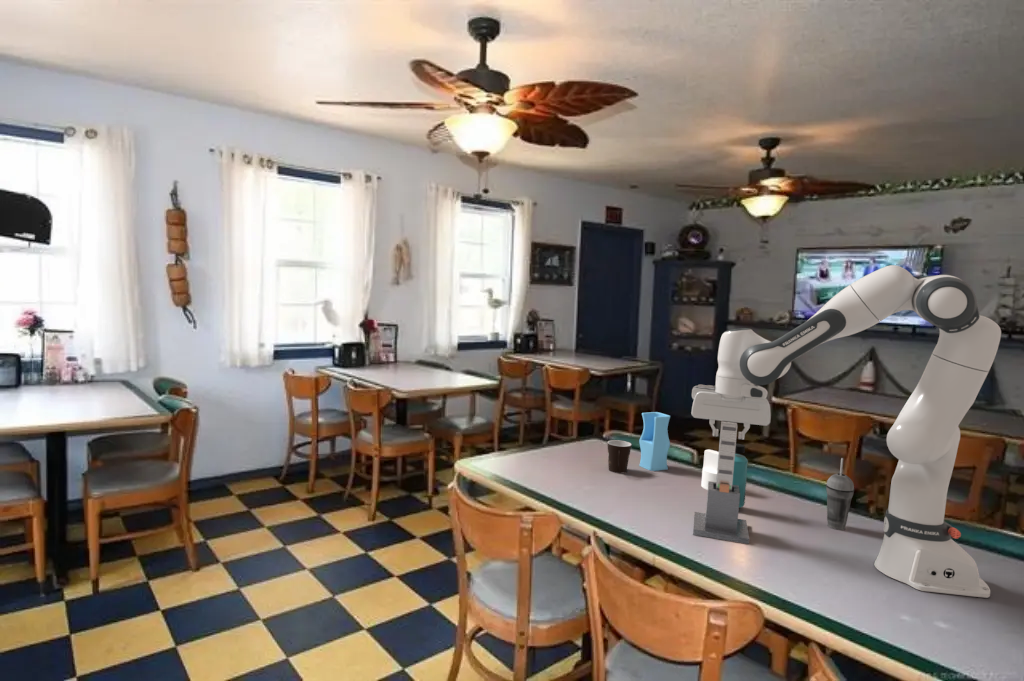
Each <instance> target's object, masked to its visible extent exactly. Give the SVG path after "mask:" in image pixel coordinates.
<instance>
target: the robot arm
mask: <svg viewBox="0 0 1024 681" xmlns="http://www.w3.org/2000/svg"><path fill="white" fill-rule="evenodd" d="M901 311H913V312H915V313H916V315H917V316H918V317H919V318H920V319H922V320H924V321H926V322H928V323H930V324H931V325H933V326H935V327H937V328H938V329H939V337H938V339H937V344H936V345H935V347H934V349H933V351H932V353H931V355H930V357H929V360H928V361H927V363H926V366H925V369H924V370H923V373H922V375H921V377H920V379H919V381H918V383H917V385H916V387H915V388H914V390H913V391H912V393H911V395H910V396H909V398H908V399H907V401H906V403H905V404H904V406H903V407H902V409H901V411H900V412H899V414H898V416H897V417H896V419H895V421H894V423H893V425H892V426H891V427H890V429H889V430H888V432H887V434H886V446H887V447H888V450H889V452H890V453H891V455H893V457H895V458H896V459H897V460H898V462H897V465H896V467H895V471H894V474H893V475H892V478H891V484H890V490H889V499H888V500H889V501H888V508H887V509H886V511H885V516H884V519H883V521H884V522H883V533H884V535H883V538H882V543H881V546H880V549H879V553H878V555H877V556H876V559H875V561H874V563H873V564H874V567H875V568H876V569H877V570H878V571H879V572H880V573H881V574H883V575H886V576H887V577H889V578H892V579H894V580H896V581H899V582H901V583H904V584H906V585H908V586H910V587H912V588H914V589H916V590H919V591H921V592H930V593H938V594H939V593H940V594H946V595H947V594H948V595H957V596H964V597H965V596H967V597H975V598H976V597H978V598H985V599H987V598H988V599H989V598H990V597H991V589H990V587H989V585H988V584H987V583H986V581H985V580H983V579H982V578H981V577H980V574H979V568H978V565H977V562H976V561H975V559H974V558H973V557H972V556H971V555H970V554H969V553H968V552H967V551H966V550H964V548H962V547H961V546H960V545H959V544H958V543H957V542H956V541H954V540H953V539H959V538H961V536H962V533H961V531H960V530H959V529H958V528H955V527H953V526H952V525H951V524H949V523H948V522H946V521H945V513H946V506H947V497H948V490H949V485H950V481H951V478H952V475H953V470H954V466H955V464H956V459H957V453H958V450H959V449H958V448H959V444H960V441H961V429H960V427H959V425H960V423H961V422H962V421H963V419H964V417H965V416H966V414H967V413H968V412H969V409H971V407H972V406H973V405H974V403H975V401H976V398H977V396H978V394H979V393H980V390H981V388H982V386H983V384H984V382H985V380H986V379H987V376H988V374H989V373H990V370H991V367H992V365H993V363H994V361H995V358H996V355H997V353H998V349H999V346H1000V342H1001V338H1002V337H1001V336H1002V330H1001V329H1002V328H1001V327H1000V325H998V324H999V323H996V321H994V320H993V319H991V318H989V317H987V316H984V315H981V314H980V311H979V306H978V301H977V296H976V293H975V292H974V290H973V288H972V286H971V285H969V284H968V282H966V281H964V280H963V279H961V278H959V277H957V276H954V275H950V274H939V275H938V274H936V275H935V274H933V275H928V276H927V275H926V276H920V277H919V276H918V277H915V276H913V274H912V273H911V272H910V271H908V270H907V269H906V268H904V267H902V266H899V265H894V264H890V265H886V266H884V267H881V268H879V269H876V270H875V271H872V272H869V273H868V274H866V275H864V276H862V277H861V278H859V279H856V280H855V281H854V282H852V283H850V284H848V285H847V286H845V287H844V288H843V289H841V290H840V291H839V292H837V293H836V294H835V295H834V296H833V297H831V298H830V299H829V300H828V301H827V302H826V303H824V305H822V307H821V308H819V310H817V311H816V313H814V314H813V315H812V316H811V317H810V318H809V319H807V320H806V321H804V322H803V323H801V324H800V325H798V326H796V327H795V328H793V329H792V330H790V331H788V332H786V333H784V334H783V336H780V337H779V338H777V339H774V340H772V341H771V340H769V339H766V338H764V337H762V336H761V335H759V334H758V333H756V332H755V331H753V329H751V328H748V327H747V328H746V327H743V328H742V327H741V328H734V329H733V328H731V329H727V330H725V331H724V332H723V333H722V334H721V337H720V340H719V344H718V351H717V364H718V368H717V371H716V375H715V385H710V384H707V385H705V384H698V385H695V386H693V387H692V389H691V398H692V400H693V402H692V406H691V412H690V413H691V416H692V417H693V418H695V419H702V420H709V426H710V427H711V430H712V437H719V431H720V430H719V429H718V428H716V427H715V421H723V422H732V423H737V424H738V423H739V424H743V427H744V428H743V429H742V431H738V438H737V439H738V440H745V437H746V436H745V435H746V433H747V432H748V431H749V429H750V428H751V425H757V426H758V425H759V426H764V427H765V426H766V427H767V426H769V425H770V424H771V416H772V415H771V414H772V413H771V405H770V403H769V400H768V398H767V397H768V390H767V389H766V388H765V387H763V386H766V385H770V384H772V383H774V382H775V381H776V380H777V379H779V378H782V377H783V376H785V375H786V374H787V373H788V372H789V370H790V369H791V366H792V362H793V361H795V360H796V359H798V358H800V357H801V356H803V355H805V354H806V353H808V352H810V351H811V350H813V349H815V348H817V347H818V346H820V345H822V344H824V343H827V342H829V341H833V340H836V339H839V338H844V337H845V338H846V337H848V336H852V335H855V334H857V333H860V332H863V331H865V330H867V329H869V328H871V327H873V326H874V325H877V324H879V323H880V322H882V321H883V320H885V319H887V318H888V317H890V316H891V315H893V314H896V313H898V312H901Z"/></svg>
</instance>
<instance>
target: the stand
mask: <svg viewBox="0 0 1024 681" xmlns="http://www.w3.org/2000/svg"><path fill="white" fill-rule="evenodd" d="M739 500H740V492H739V486H738V485H732V492H730V491H729V485H728V484H721V483H720V487H719V490H717V489H716V482H710V481H708V490H707V496H706V508H705V513H704V512H699V511H698V512H697V511H694V516H693V518H694V520H693V531H692V533H693V534H692V535H693V536H699V537H703V538H710V539H716V540H722V541H726V542H727V541H728V542H733V543H738V544H746V545H749V544H750V535H749V530H748V525H747V523H748V522H747V519H741V518H739V508H740V507H739Z"/></svg>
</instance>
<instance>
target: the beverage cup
mask: <svg viewBox="0 0 1024 681" xmlns="http://www.w3.org/2000/svg"><path fill="white" fill-rule="evenodd" d="M843 465H844V457H841V458H840V470H839V473H834V474H832V475H831V476H829V478H828V479H827V480H826V484H825V487H826V488H825V490H826V496H827V497H826V500H827V501H826V522H827V527H828V528H831V529H834V530H838V531H843V530H846V525H847V522H848V518H849V511H850V506H851V502H852V498H853V496H854V492H855V488H854V487H855V486H854V485H855V484H854V481H853V480H852V479H851V478H850V477H849V476H848V475H846V474H844V473H843Z"/></svg>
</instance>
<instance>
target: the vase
mask: <svg viewBox="0 0 1024 681" xmlns="http://www.w3.org/2000/svg"><path fill="white" fill-rule="evenodd" d="M641 416H642V420H643V430H642V433H641V435H640V438H639V441H638V443H639V447H640V448H639V449H640V462H639V465H638V466H639V467H641V468H643V469H645V470H648V471H651V472H659V471H665V470H668V469H669V468H668V461H667V460H668V459H667V458H668V453H669V449H670V446H671V442H670V439H669V433H668V431H669V430H668V426H669V422H670V419H671V415H669V414H666V413H662V412H658V411H651V412H642V413H641Z"/></svg>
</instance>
